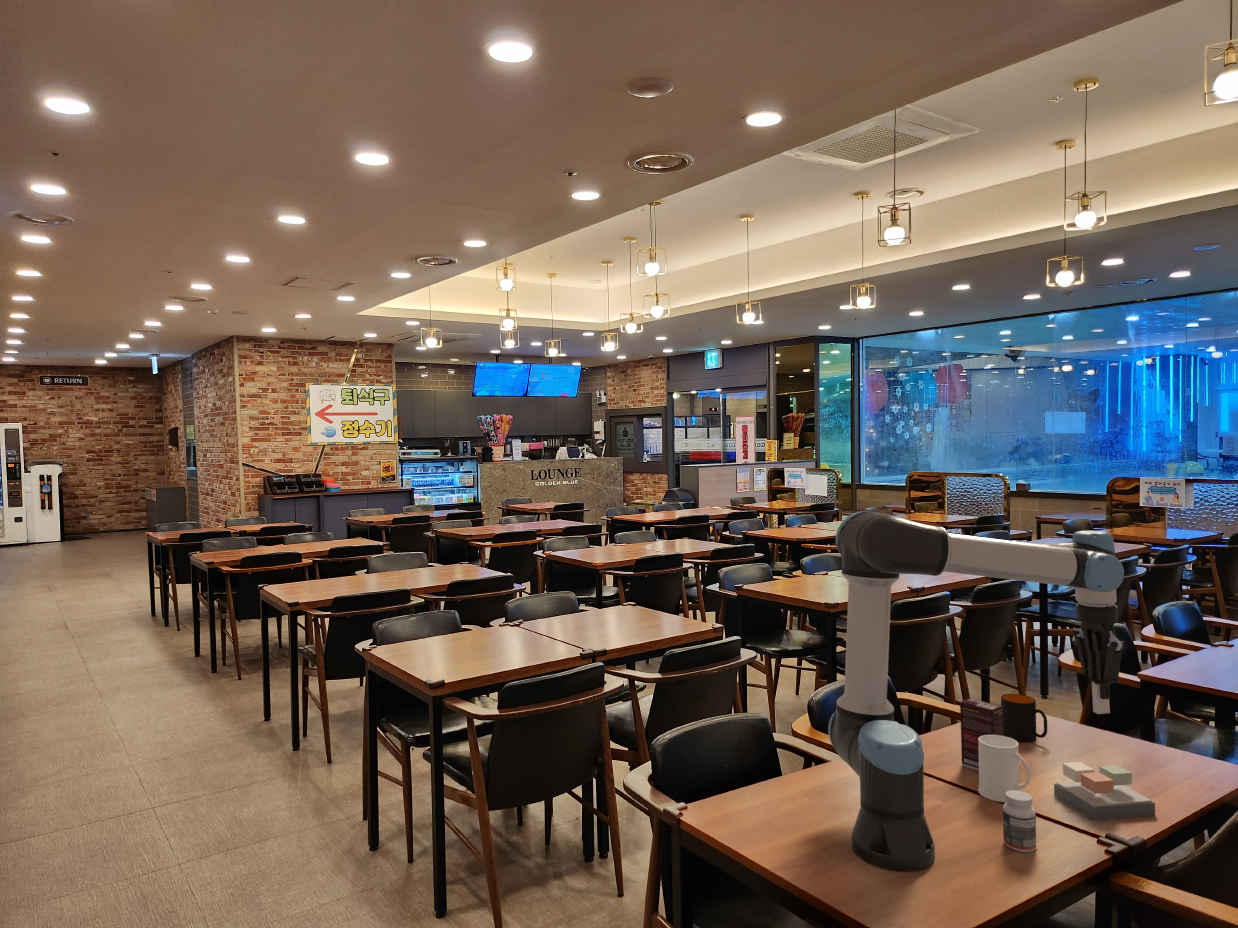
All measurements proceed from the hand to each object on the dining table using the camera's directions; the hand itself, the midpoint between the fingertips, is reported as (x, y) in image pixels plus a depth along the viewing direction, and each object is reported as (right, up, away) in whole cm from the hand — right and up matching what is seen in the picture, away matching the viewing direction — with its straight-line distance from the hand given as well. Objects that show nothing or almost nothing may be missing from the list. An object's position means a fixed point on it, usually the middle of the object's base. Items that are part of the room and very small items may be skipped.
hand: (1101, 712), depth 166 cm
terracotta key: (-3, -15, -3) cm, 16 cm away
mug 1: (+4, -20, +39) cm, 44 cm away
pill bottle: (-26, -21, -16) cm, 37 cm away
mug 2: (-18, -21, +5) cm, 28 cm away
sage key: (+3, -15, +1) cm, 15 cm away
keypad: (0, -20, 0) cm, 20 cm away
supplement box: (-16, -21, +21) cm, 33 cm away
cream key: (-3, -15, +3) cm, 16 cm away
